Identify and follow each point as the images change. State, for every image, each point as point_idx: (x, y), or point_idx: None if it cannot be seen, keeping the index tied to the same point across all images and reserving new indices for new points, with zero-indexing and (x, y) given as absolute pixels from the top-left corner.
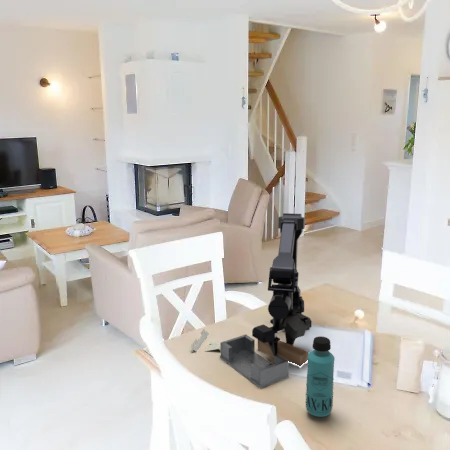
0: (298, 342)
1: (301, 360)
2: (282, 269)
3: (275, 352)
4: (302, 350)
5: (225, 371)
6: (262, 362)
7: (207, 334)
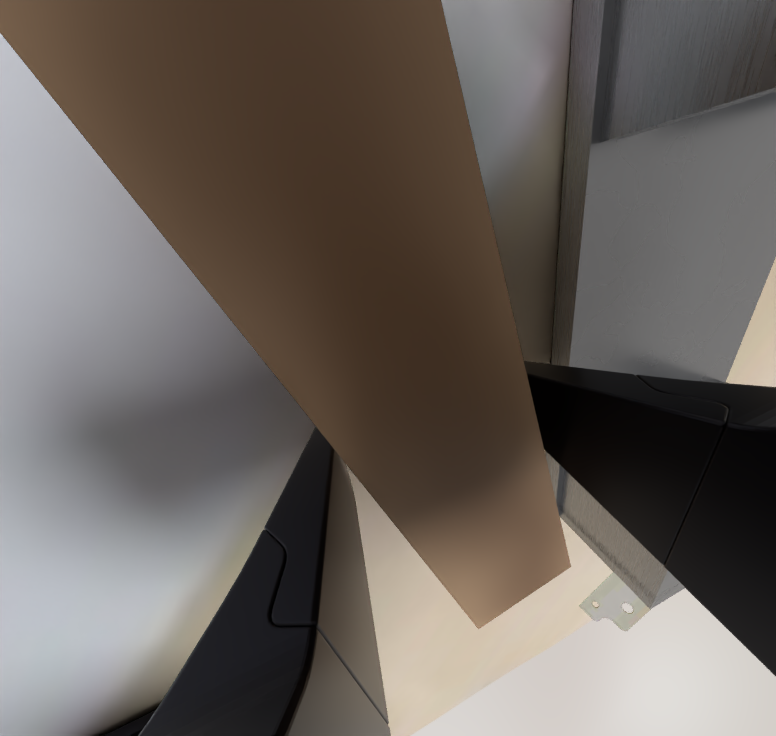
0: (148, 584)
1: None
2: None
3: (549, 365)
4: (185, 172)
5: (764, 304)
6: (618, 307)
7: (591, 602)
